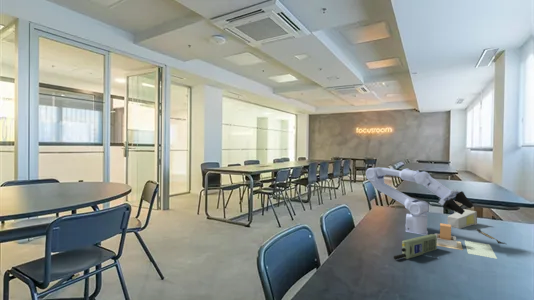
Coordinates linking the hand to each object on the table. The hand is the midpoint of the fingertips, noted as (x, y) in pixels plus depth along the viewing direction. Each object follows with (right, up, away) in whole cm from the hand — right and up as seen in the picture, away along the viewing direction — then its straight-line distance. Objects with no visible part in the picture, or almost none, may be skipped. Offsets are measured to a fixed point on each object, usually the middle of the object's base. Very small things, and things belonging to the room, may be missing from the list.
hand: (467, 209), depth 120 cm
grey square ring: (-10, -15, 0) cm, 18 cm away
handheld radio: (-30, -16, -12) cm, 36 cm away
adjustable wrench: (+20, -16, +12) cm, 28 cm away
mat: (0, -16, -6) cm, 17 cm away
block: (+19, -16, +31) cm, 40 cm away
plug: (-10, -15, 0) cm, 18 cm away
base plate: (-10, -15, 0) cm, 18 cm away
